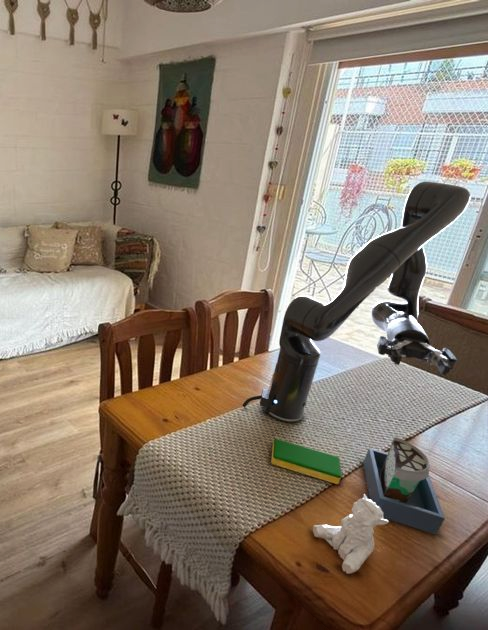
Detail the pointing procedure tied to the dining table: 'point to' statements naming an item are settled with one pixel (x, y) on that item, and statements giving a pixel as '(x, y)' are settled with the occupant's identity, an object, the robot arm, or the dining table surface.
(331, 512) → the dining table surface
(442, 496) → the dining table surface
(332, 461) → the dish sponge
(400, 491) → the food container
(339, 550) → the seated beast figurine
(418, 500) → the blue open tray
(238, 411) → the dining table surface
